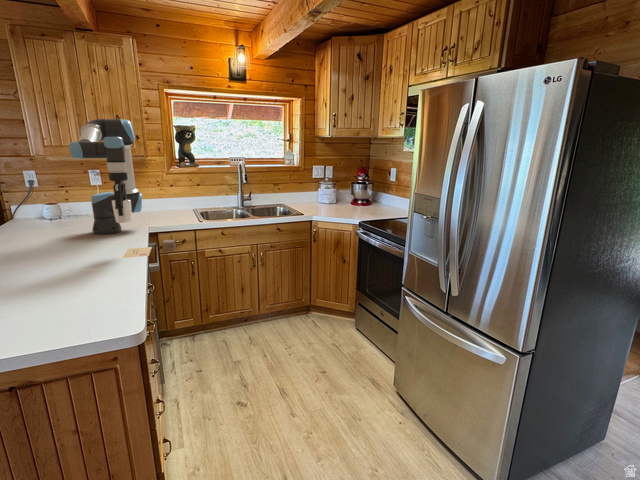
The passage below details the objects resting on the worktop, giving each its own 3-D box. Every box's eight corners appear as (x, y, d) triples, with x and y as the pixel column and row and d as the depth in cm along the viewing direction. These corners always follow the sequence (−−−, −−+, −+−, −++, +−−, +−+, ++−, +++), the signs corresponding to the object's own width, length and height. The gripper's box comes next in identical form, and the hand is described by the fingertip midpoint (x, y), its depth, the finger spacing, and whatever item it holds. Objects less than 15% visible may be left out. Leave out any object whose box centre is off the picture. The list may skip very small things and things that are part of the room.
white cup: (112, 223, 167) (109, 201, 164) (117, 220, 174) (114, 199, 172) (131, 222, 168) (128, 201, 166) (135, 219, 176) (132, 199, 173)
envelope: (128, 249, 181) (127, 248, 181) (152, 247, 185) (151, 246, 184) (122, 258, 166) (122, 257, 166) (148, 256, 170) (148, 255, 170)
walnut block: (165, 249, 181) (164, 240, 180) (175, 249, 182) (175, 239, 181) (163, 252, 176) (162, 242, 175) (174, 252, 177) (173, 242, 176)
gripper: (113, 170, 174) (119, 217, 180) (102, 173, 155) (110, 225, 161) (130, 170, 176) (136, 216, 182) (122, 173, 157) (129, 224, 163)
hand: (124, 220), depth 171 cm, fingers closed on white cup, 8 cm apart
